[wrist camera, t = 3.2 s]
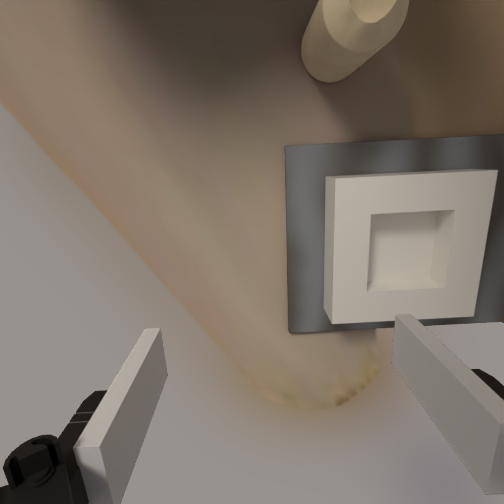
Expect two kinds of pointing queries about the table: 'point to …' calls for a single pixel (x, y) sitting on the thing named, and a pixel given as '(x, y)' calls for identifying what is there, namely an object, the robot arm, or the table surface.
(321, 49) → the candle
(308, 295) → the backstop jig
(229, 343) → the table surface
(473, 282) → the holder
